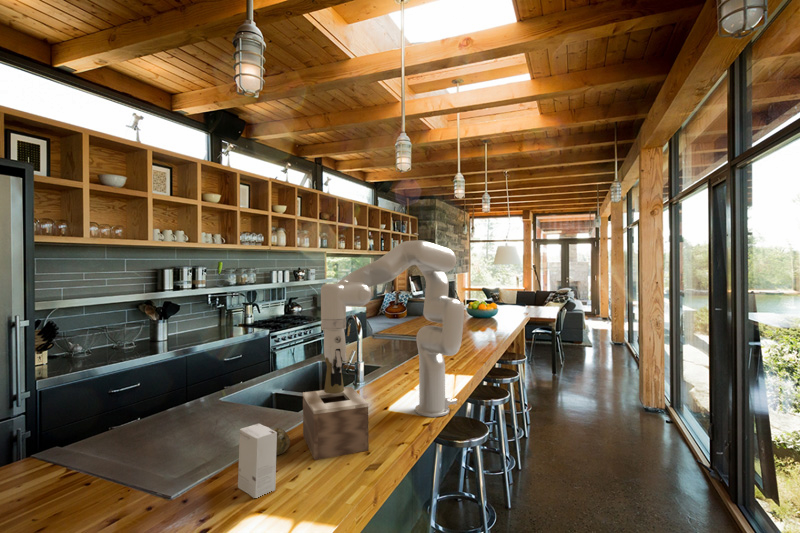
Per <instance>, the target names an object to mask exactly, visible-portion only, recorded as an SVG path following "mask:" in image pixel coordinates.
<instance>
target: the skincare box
mask: <svg viewBox="0 0 800 533" xmlns="http://www.w3.org/2000/svg"><path fill="white" fill-rule="evenodd" d="M273 430H274V429H272V428H270V427H269V426H265V425H263V424H261V423H256V424H252V425H250V426H246V427H242V428H240V429H239V442H238V444H239V446H238V447H239V448H238V476H237V477H238V478H237V488H238V489H239V490H241V491H243V492H244V493H247V495H249V496H250V497H252V498H253V499H254V498H257V499H259V498H261V497H263V496H265V495H264V494H266V495H268V494H270V493H272V492H275V491H276V483H277V482H276V481H277V480H276V479H277V478H276V476H277V473H276V472H277V455H276V447H277V432H275V431H273ZM271 491H272V492H271ZM269 492H270V493H269ZM267 493H268V494H267ZM262 495H263V496H262ZM260 496H261V497H260ZM258 497H259V498H258Z"/></svg>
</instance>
